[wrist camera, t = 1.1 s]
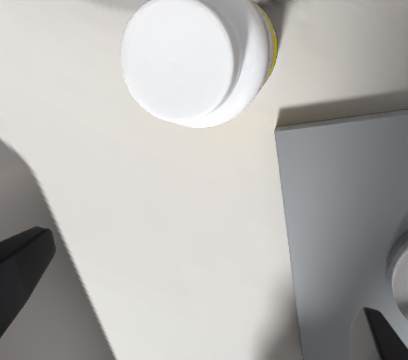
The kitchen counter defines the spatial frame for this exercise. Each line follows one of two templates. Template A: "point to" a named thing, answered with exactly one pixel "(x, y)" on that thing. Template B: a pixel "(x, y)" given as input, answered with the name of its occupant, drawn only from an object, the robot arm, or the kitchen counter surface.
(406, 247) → the dial
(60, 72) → the kitchen counter surface
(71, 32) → the kitchen counter surface
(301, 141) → the board
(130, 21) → the supplement bottle
